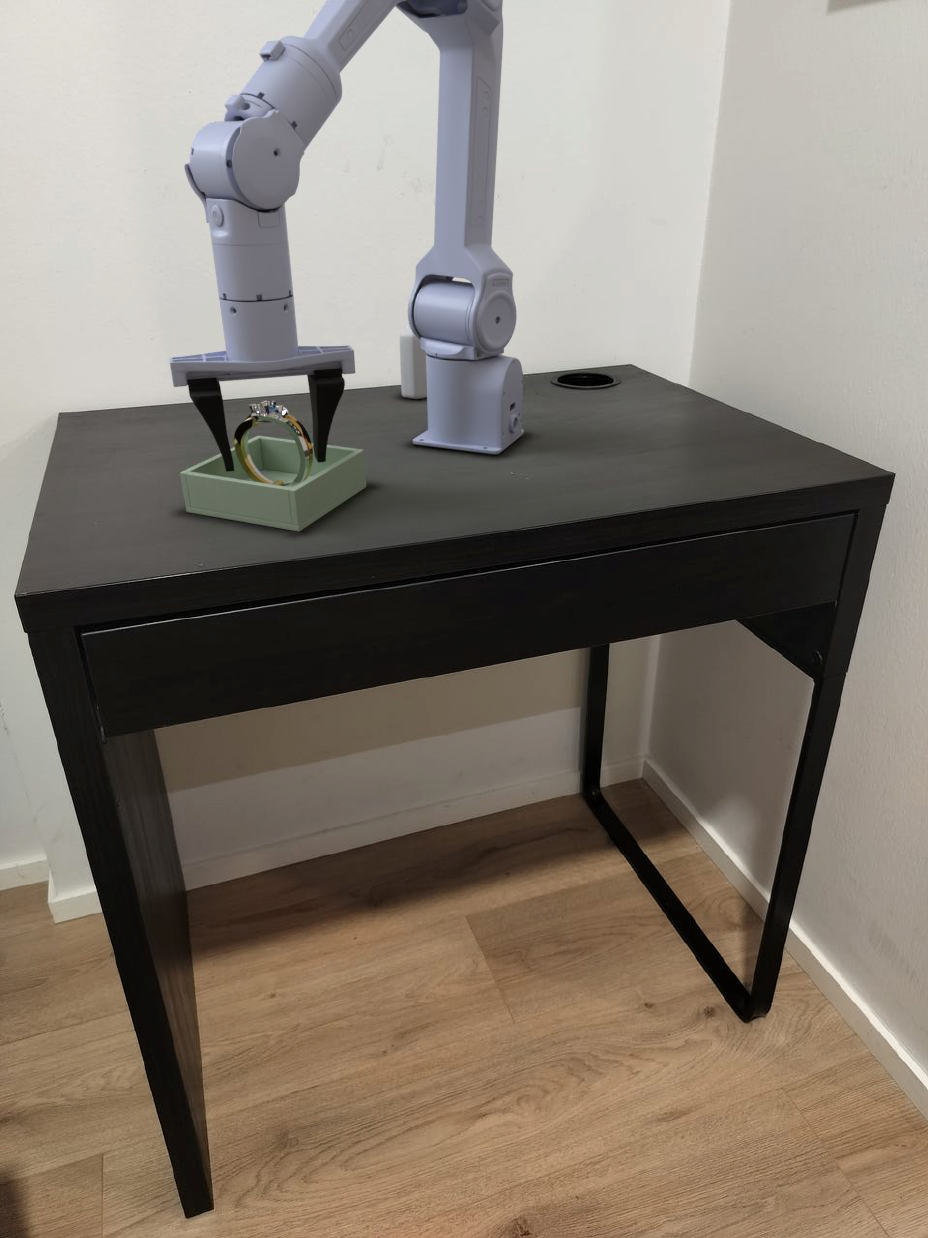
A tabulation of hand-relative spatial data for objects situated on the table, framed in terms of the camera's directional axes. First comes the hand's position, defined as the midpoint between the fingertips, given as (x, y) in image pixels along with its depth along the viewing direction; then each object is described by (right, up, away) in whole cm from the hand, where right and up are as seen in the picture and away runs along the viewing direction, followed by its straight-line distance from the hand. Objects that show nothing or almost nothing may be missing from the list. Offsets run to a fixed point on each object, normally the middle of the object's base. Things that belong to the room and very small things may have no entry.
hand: (275, 463), depth 75 cm
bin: (0, -3, +2) cm, 3 cm away
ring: (0, -3, +1) cm, 3 cm away
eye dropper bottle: (+11, +14, +33) cm, 37 cm away
